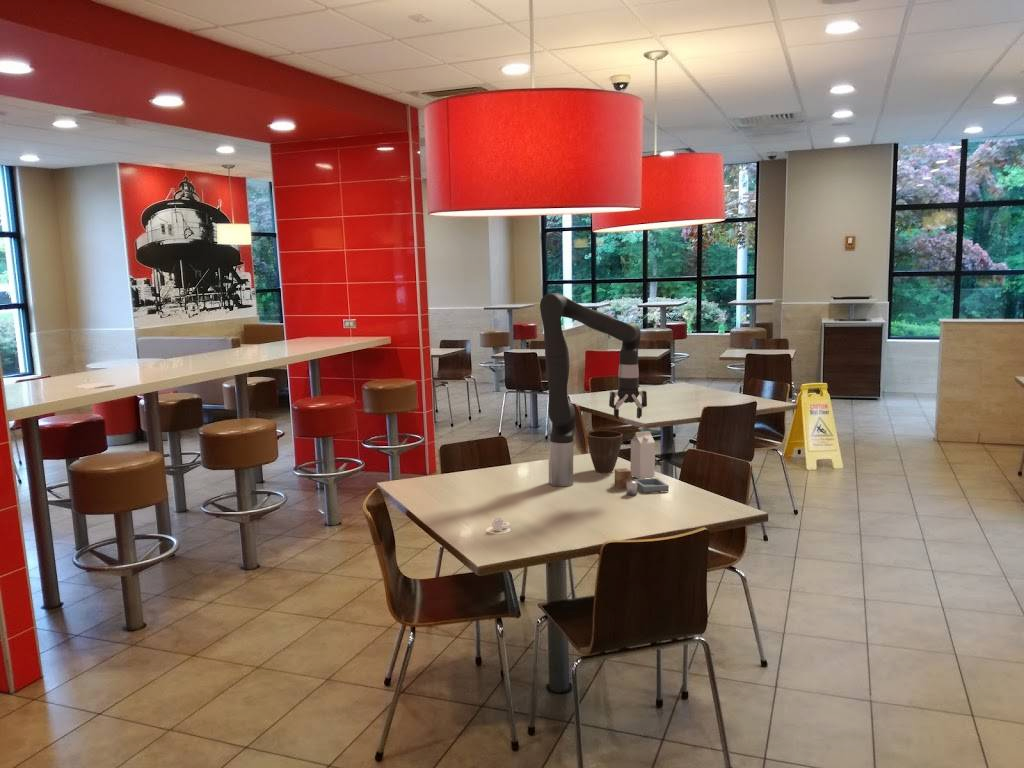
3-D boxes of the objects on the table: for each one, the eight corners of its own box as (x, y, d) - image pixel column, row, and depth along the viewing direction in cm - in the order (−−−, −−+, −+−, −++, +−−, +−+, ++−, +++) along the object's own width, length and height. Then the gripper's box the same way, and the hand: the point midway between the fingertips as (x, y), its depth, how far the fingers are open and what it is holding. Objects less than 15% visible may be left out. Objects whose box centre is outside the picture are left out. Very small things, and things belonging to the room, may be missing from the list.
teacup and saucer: (505, 526, 273) (505, 514, 272) (517, 532, 266) (517, 520, 265) (481, 529, 268) (481, 517, 268) (492, 536, 262) (492, 524, 261)
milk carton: (630, 476, 339) (630, 431, 337) (644, 474, 342) (645, 429, 340) (639, 480, 333) (640, 434, 330) (654, 478, 336) (655, 432, 333)
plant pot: (619, 476, 340) (620, 437, 338) (584, 474, 343) (584, 436, 341) (623, 468, 354) (624, 431, 352) (589, 466, 358) (589, 430, 356)
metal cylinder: (628, 496, 308) (628, 483, 308) (625, 493, 312) (625, 480, 311) (638, 495, 309) (638, 482, 308) (635, 493, 313) (635, 480, 312)
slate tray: (643, 493, 312) (643, 486, 312) (633, 485, 324) (633, 479, 324) (668, 491, 314) (668, 485, 314) (657, 484, 326) (657, 478, 326)
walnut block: (618, 489, 318) (618, 471, 317) (614, 486, 323) (614, 468, 322) (630, 488, 319) (631, 471, 318) (626, 485, 324) (626, 468, 323)
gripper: (613, 377, 306) (612, 420, 308) (649, 376, 308) (649, 419, 310) (607, 375, 313) (606, 417, 315) (643, 374, 316) (642, 416, 318)
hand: (627, 418), depth 313 cm, fingers open, 8 cm apart
